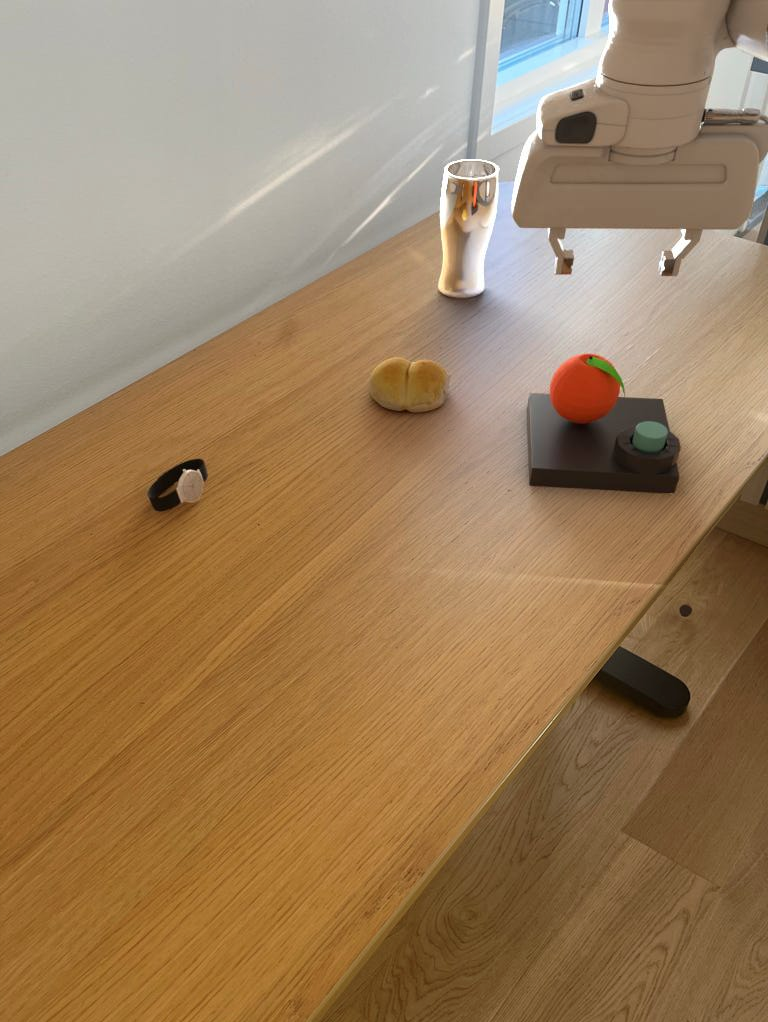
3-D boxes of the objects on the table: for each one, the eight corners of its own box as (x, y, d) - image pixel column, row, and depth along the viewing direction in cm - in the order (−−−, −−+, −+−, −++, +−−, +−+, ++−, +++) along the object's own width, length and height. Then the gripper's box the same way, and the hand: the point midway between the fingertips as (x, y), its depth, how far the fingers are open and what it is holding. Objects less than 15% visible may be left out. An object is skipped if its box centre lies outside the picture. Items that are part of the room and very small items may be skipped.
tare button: (661, 436, 94) (666, 421, 92) (665, 454, 92) (669, 439, 90) (630, 435, 94) (634, 420, 93) (633, 452, 92) (637, 437, 91)
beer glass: (431, 298, 124) (439, 178, 113) (438, 274, 128) (446, 157, 118) (484, 301, 122) (498, 181, 112) (489, 277, 127) (503, 159, 116)
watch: (174, 523, 93) (170, 493, 91) (138, 508, 95) (132, 479, 92) (220, 482, 98) (217, 453, 95) (184, 469, 99) (179, 440, 97)
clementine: (634, 421, 98) (650, 358, 93) (596, 449, 95) (611, 386, 90) (569, 393, 102) (581, 332, 97) (531, 419, 99) (541, 357, 94)
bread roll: (377, 373, 111) (378, 341, 108) (452, 382, 109) (455, 350, 106) (360, 410, 106) (360, 378, 103) (439, 420, 104) (441, 388, 101)
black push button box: (657, 416, 103) (667, 383, 100) (674, 494, 93) (684, 460, 90) (526, 410, 104) (531, 377, 102) (528, 486, 95) (534, 453, 92)
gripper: (772, 96, 79) (726, 259, 88) (521, 98, 81) (504, 257, 91) (789, 121, 74) (738, 290, 84) (523, 123, 77) (504, 286, 87)
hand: (614, 273), depth 88 cm, fingers open, 8 cm apart
